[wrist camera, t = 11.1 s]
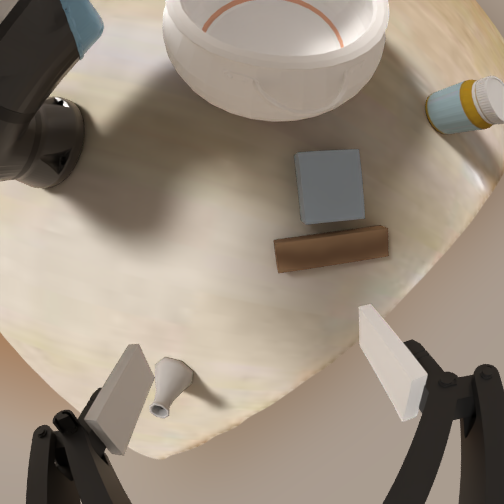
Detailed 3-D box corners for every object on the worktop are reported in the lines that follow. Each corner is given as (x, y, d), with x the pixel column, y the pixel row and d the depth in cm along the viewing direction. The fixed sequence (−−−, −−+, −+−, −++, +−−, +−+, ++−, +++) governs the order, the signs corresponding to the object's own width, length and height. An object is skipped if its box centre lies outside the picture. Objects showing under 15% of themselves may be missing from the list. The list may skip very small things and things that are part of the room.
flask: (200, 369, 45) (189, 409, 35) (185, 393, 46) (173, 432, 37) (161, 350, 44) (143, 387, 34) (149, 376, 46) (132, 412, 36)
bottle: (421, 124, 34) (484, 109, 20) (424, 87, 32) (482, 62, 18) (452, 141, 35) (516, 135, 20) (455, 105, 33) (515, 90, 18)
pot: (379, 128, 35) (445, 106, 19) (195, 154, 36) (153, 138, 20) (331, -19, 28) (357, -77, 12) (172, -1, 29) (141, -60, 13)
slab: (300, 220, 39) (293, 155, 36) (354, 214, 38) (348, 151, 36) (305, 224, 35) (298, 152, 33) (365, 218, 34) (358, 149, 32)
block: (273, 239, 39) (274, 244, 37) (380, 225, 38) (387, 228, 36) (277, 267, 40) (278, 273, 38) (381, 251, 39) (388, 255, 37)
